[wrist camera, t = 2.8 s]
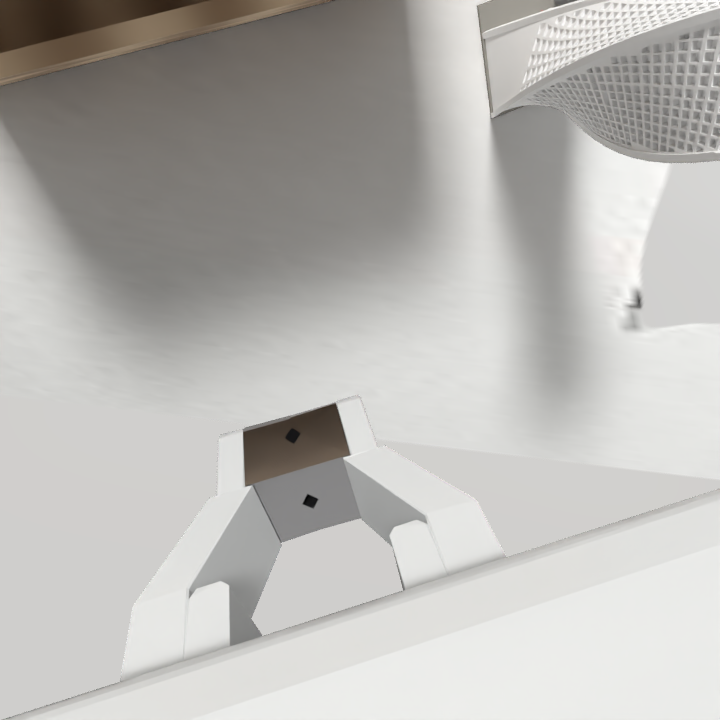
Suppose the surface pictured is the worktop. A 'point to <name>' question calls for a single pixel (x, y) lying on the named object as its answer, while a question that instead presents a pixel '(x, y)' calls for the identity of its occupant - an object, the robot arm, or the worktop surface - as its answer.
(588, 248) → the worktop surface
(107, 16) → the wooden box
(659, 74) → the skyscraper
